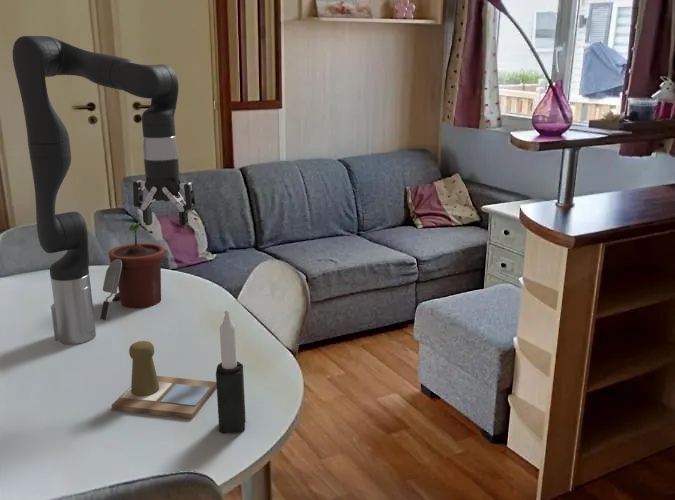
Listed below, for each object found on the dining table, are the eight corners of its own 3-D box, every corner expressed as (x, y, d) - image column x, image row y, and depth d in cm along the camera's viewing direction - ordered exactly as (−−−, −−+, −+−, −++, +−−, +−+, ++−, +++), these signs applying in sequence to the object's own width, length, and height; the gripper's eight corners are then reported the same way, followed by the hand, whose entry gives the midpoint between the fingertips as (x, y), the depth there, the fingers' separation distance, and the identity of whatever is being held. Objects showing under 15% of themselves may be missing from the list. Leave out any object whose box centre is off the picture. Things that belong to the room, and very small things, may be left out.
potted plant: (177, 306, 200) (171, 224, 192) (101, 321, 189) (91, 234, 182) (159, 288, 214) (152, 211, 207) (87, 301, 203) (78, 220, 196)
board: (112, 409, 143) (111, 403, 143) (143, 379, 156) (143, 373, 156) (192, 419, 140) (192, 412, 139) (217, 386, 153) (217, 381, 152)
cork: (151, 397, 145) (147, 350, 142) (125, 395, 146) (121, 348, 143) (164, 384, 151) (160, 338, 148) (138, 381, 152) (134, 336, 149)
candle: (220, 420, 139) (214, 305, 132) (245, 419, 139) (240, 305, 132) (218, 433, 134) (211, 315, 127) (244, 432, 135) (239, 315, 127)
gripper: (123, 157, 152) (130, 228, 156) (183, 159, 149) (188, 231, 154) (139, 152, 159) (145, 220, 163) (197, 154, 156) (201, 223, 161)
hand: (166, 225), depth 158 cm, fingers open, 8 cm apart
